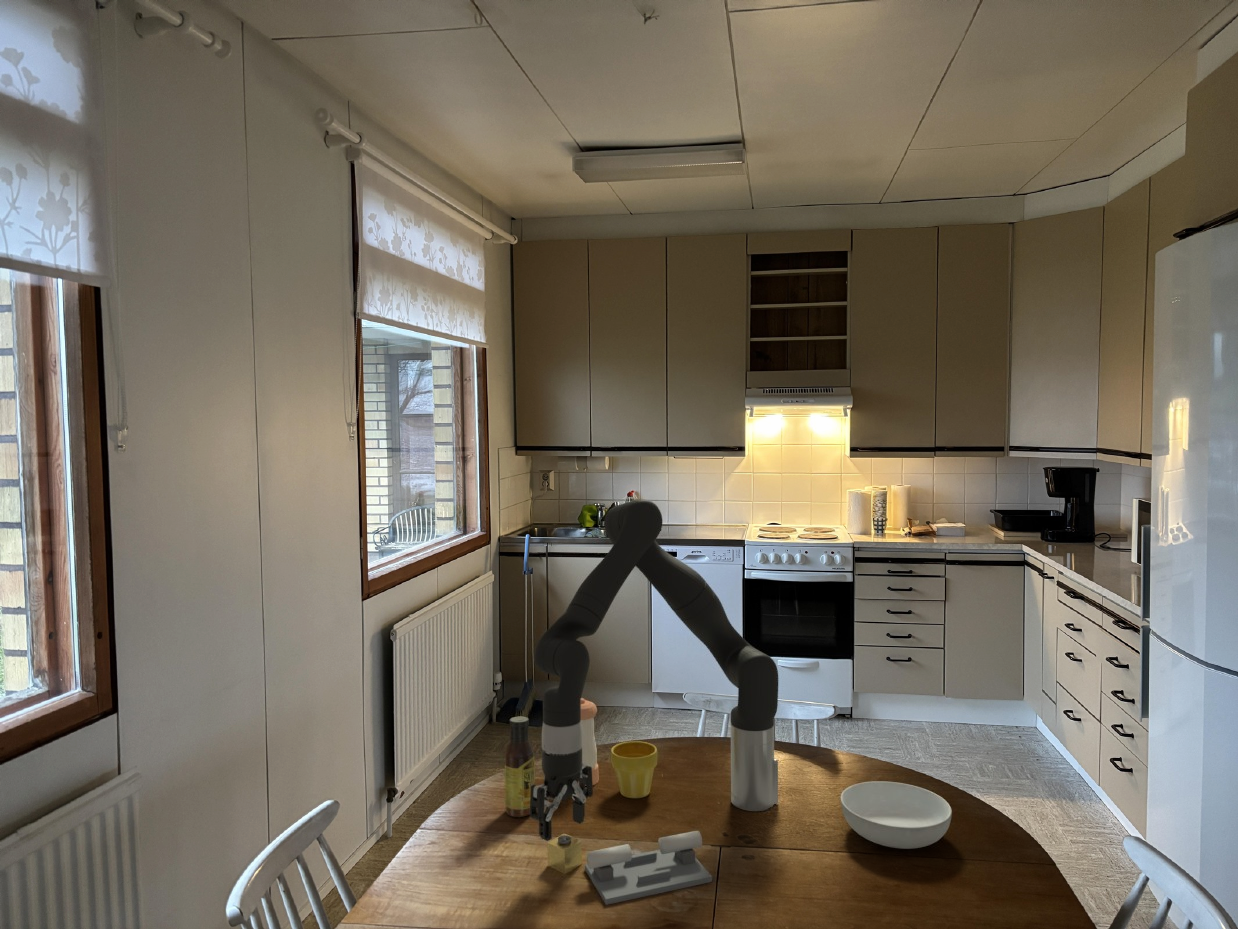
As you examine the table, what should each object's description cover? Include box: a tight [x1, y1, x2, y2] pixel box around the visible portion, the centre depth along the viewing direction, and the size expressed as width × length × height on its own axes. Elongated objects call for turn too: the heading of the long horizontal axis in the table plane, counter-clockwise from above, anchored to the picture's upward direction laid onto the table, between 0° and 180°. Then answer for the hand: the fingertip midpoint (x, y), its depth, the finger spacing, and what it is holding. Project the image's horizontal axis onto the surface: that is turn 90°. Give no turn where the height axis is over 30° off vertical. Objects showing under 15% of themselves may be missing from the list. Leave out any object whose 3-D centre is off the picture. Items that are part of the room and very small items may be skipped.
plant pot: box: [610, 740, 658, 799], centre depth 183 cm, size 10×10×10 cm
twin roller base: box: [584, 830, 713, 906], centre depth 148 cm, size 22×12×6 cm, turn 110°
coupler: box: [546, 833, 583, 875], centre depth 152 cm, size 4×4×5 cm
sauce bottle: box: [504, 715, 536, 818], centre depth 174 cm, size 7×6×20 cm
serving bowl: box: [840, 780, 953, 850], centre depth 162 cm, size 21×21×7 cm
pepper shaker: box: [578, 697, 600, 786], centre depth 189 cm, size 7×7×19 cm
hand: (562, 830), depth 152 cm, fingers open, 8 cm apart
